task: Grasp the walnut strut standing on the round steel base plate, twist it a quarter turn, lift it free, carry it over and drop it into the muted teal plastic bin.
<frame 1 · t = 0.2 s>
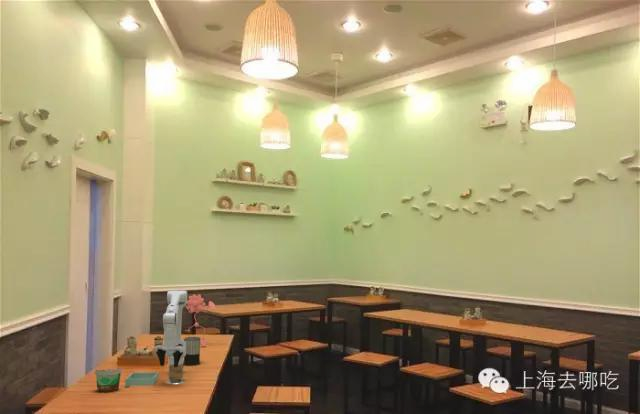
hand: (169, 366, 272), 10 cm above the table, tool pointing down, fingers open, 7 cm apart
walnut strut: (175, 381, 278), point 1 cm above the table, touching steel base plate
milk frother: (185, 365, 319), on the table
food container: (107, 391, 263), on the table
pink flower branch: (194, 348, 370), on the table
steel base plate: (175, 383, 278), on the table
teal bin: (142, 383, 277), on the table
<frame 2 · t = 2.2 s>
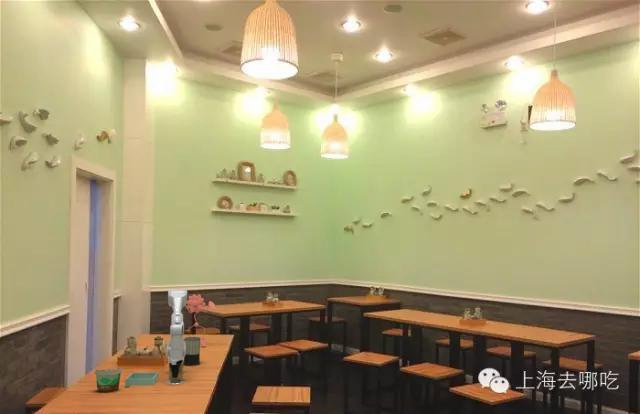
hand: (175, 376, 279), 3 cm above the table, tool pointing down, fingers closed on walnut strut, 4 cm apart
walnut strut: (175, 381, 278), point 1 cm above the table, touching gripper, steel base plate
everything else where it was.
when the fingers open (5 cm above the table, at t = 8.3 s): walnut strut drops 2 cm, resting on teal bin.
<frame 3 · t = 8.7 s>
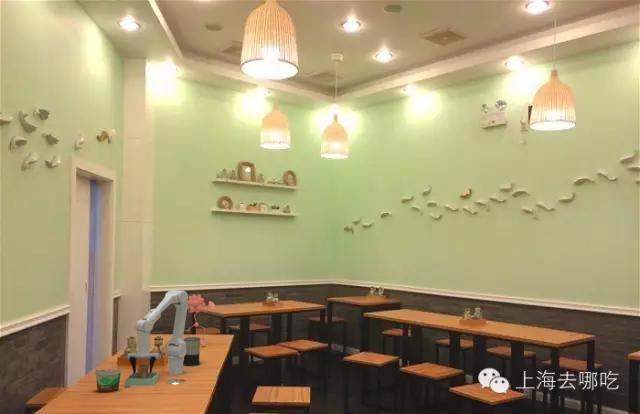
hand: (142, 372, 277), 5 cm above the table, tool pointing down, fingers open, 7 cm apart
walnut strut: (141, 382, 277), point 1 cm above the table, touching teal bin
everything else where it was.
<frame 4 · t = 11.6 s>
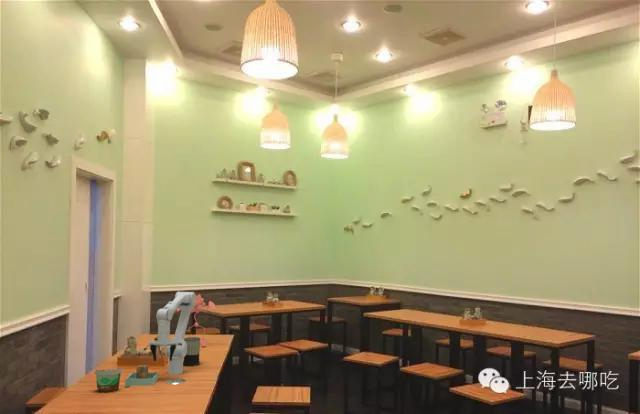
hand: (162, 360, 282), 10 cm above the table, tool pointing down, fingers open, 7 cm apart
nothing on the table moved.
at the end: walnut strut inside the target area on the teal bin (0.2 cm from its centre), point 0.7 cm above the teal bin's base; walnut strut moved 16.2 cm from its start; the gripper is holding nothing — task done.
